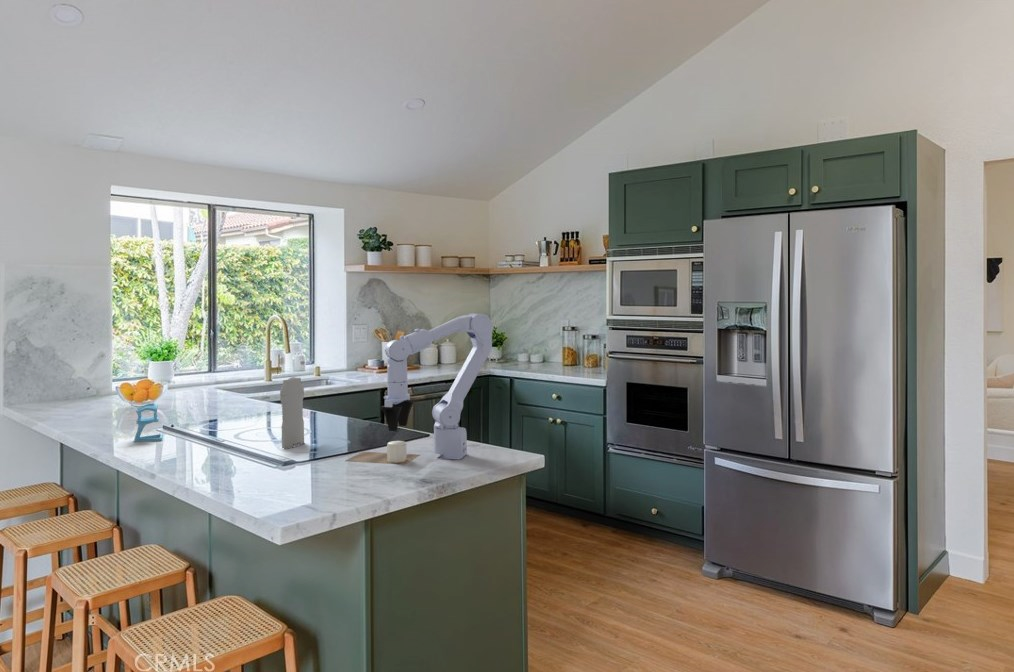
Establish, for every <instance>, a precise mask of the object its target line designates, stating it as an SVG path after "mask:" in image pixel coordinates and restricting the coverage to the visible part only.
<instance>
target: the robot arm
mask: <svg viewBox="0 0 1014 672" xmlns="http://www.w3.org/2000/svg"><path fill="white" fill-rule="evenodd" d="M413 331H414V332H411V333H409V334H407V335H400V336H399V340H398V339H393V340H390V341H389V342H388V343H386V346H385V349H384V353H385V355H386V356H387V367H386V368H387V369H386V370H387V371H386V372H387V373H386V374H387V377H386V378H387V380H386V381H387V395H385V396H383V399H384V405H381V406H380V408H381V411H382V413H383V415H384V416H385V420H386V423H387V424H386V425H387V427H388V431H389V432H397V431H398V426H399V427H407V424H408V420H409V416H410V412H411V409H412V407H413V405H414V400H411V394H410V393H408V392H409V391H408V390H409V389H408V360H407V359H408V357H409V356H410V355H411V356H412V355H414V354H417V353H419V352H421V351H423V350H426V349H428V348H430V347H431V346H432V344H433V341H436V340H439V339H441V338H443V337H446V336H448V335H451V334H454V333H456V332H463V333H465V332H466V334H467V335H468V336H469V338H470V341H471V344H472V348H471V350H470V352H469V354H468V355H467V358H466V359H465V360H464V363H463V365H462V366H461V368H460V370H459V371H458V374H457V376H456V377H455V379H454V381H453V382H452V385H451V386H450V388H449V390H448V391H447V393H445V394H444V395H443V396H442V397H441V399H440V400H439V402H438V403H436V404H435V405H434V406H433V407H432V411H431V414H432V418H433V420H434V421H435V422H434V424H433V452H434V453H435V454H437V455H438V454H439V456H438V457H437V459H442V460H444V459H446V460H462V459H463V458H464V457H465V456H466V455H468V450H467V449H468V448H467V446H468V445H467V443H468V442H467V441H468V439H467V438H468V437H467V435H468V434H467V433H468V432H467V429H466V428H465V427H461V426H459V422H461V421H460V420H461V413H462V410H463V409H464V400H465V398H466V397H467V394H468V393H469V391H470V389H471V387H472V385H473V384H474V382H475V380H476V378H477V376H478V375H479V374H480V371H481V369H482V367H483V365H484V363H485V361H486V360H487V359H488V356H489V354H490V353H491V351H492V348H493V331H494V326H493V323H492V321H491V318H490V317H489V315H487V314H485V313H476V312H470V313H467V314H466V315H465V314H464V315H461V316H460V315H459V316H457V317H455V318H453V319H451V320H449V321H447V322H444V323H442V324H440V325H437V326H436V327H432V328H431V329H430V330H428V329H425V328H421V329H420V328H416V329H414V330H413Z"/></svg>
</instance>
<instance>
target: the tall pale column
mask: <svg viewBox="0 0 1014 672" xmlns="http://www.w3.org/2000/svg"><path fill="white" fill-rule="evenodd" d="M304 398H305V387H304V386H303V383H302V379H301V377H295V376H291V377H289V378H286V379H283V381H282V386H281V390H279V399H280V403H281V413H282V414H281V415H282V417H281V418H282V422H281V449H282V448H288V449H292V448H297V447H300V446H302V445H304V444H305V421H304V412H303V410H304V407H303V405H304V401H303V400H304ZM301 444H302V445H301ZM291 447H292V448H291Z"/></svg>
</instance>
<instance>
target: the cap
mask: <svg viewBox="0 0 1014 672" xmlns="http://www.w3.org/2000/svg"><path fill="white" fill-rule="evenodd" d="M386 453H387V461H389V462H396V463H397V462H404V461H406V460H407V454H408V453H407V443H406V441H404V440H393V441H389V442H387V445H386Z"/></svg>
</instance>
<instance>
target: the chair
mask: <svg viewBox="0 0 1014 672" xmlns="http://www.w3.org/2000/svg"><path fill="white" fill-rule="evenodd" d="M136 409H137V410H135V412H136V415H137V419H136V421H135V422H136V425H138V427H137V430H136V434H135V435H134V440H133V442H135V443H137V442H161V441H163V433H157V434H151V435H144V436H143V435H142V432H143V430H144V428H145V426H147V425H149V424H153V423H159V419H160V417H159V415H158V403H148V404H144V405H143V406H141V407H137V408H136ZM145 411H150V412H153V416H151V417H142V416H143V415H142V412H145ZM141 435H142V436H141Z"/></svg>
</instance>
